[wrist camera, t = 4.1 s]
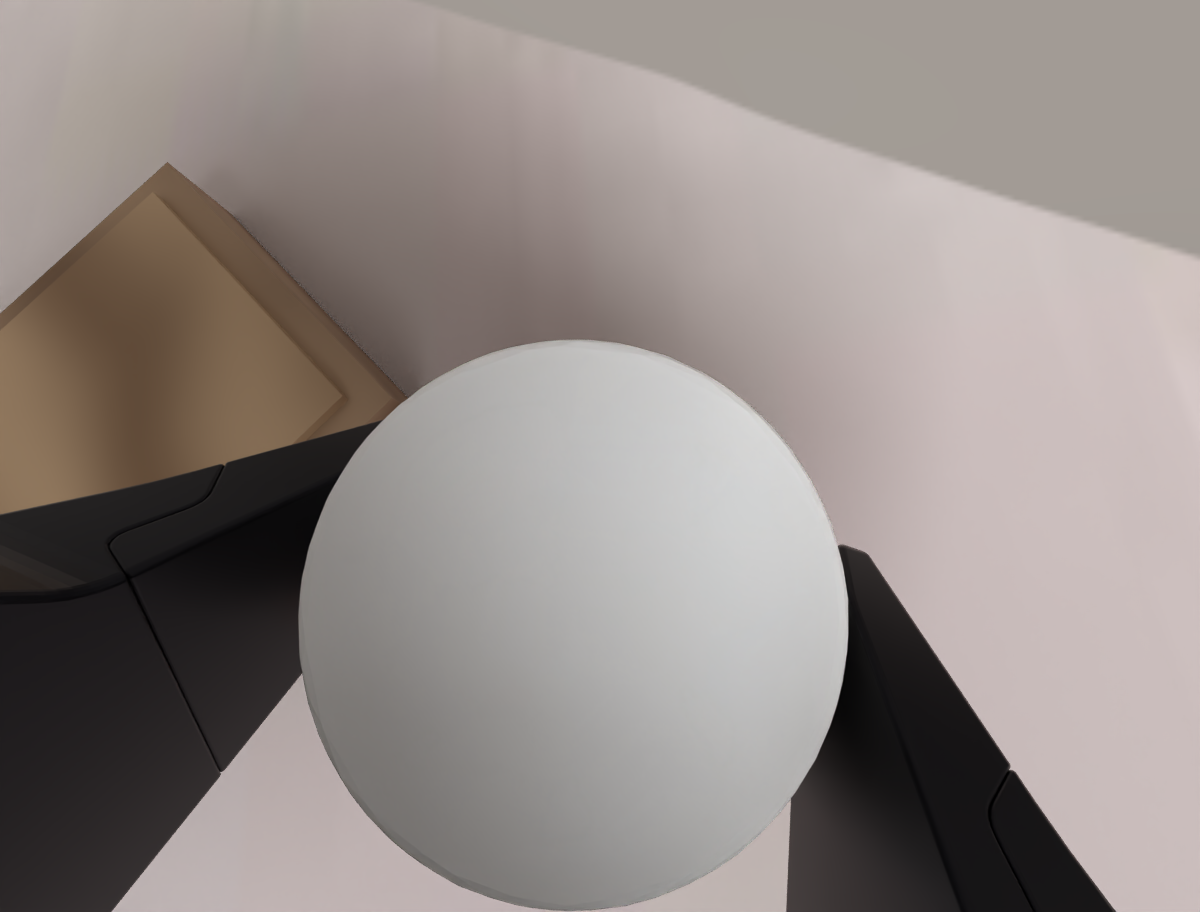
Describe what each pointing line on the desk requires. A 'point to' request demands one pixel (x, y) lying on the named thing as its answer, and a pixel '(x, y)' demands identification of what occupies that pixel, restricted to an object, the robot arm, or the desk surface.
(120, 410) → the plinth
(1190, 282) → the desk surface
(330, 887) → the desk surface
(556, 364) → the pill bottle
